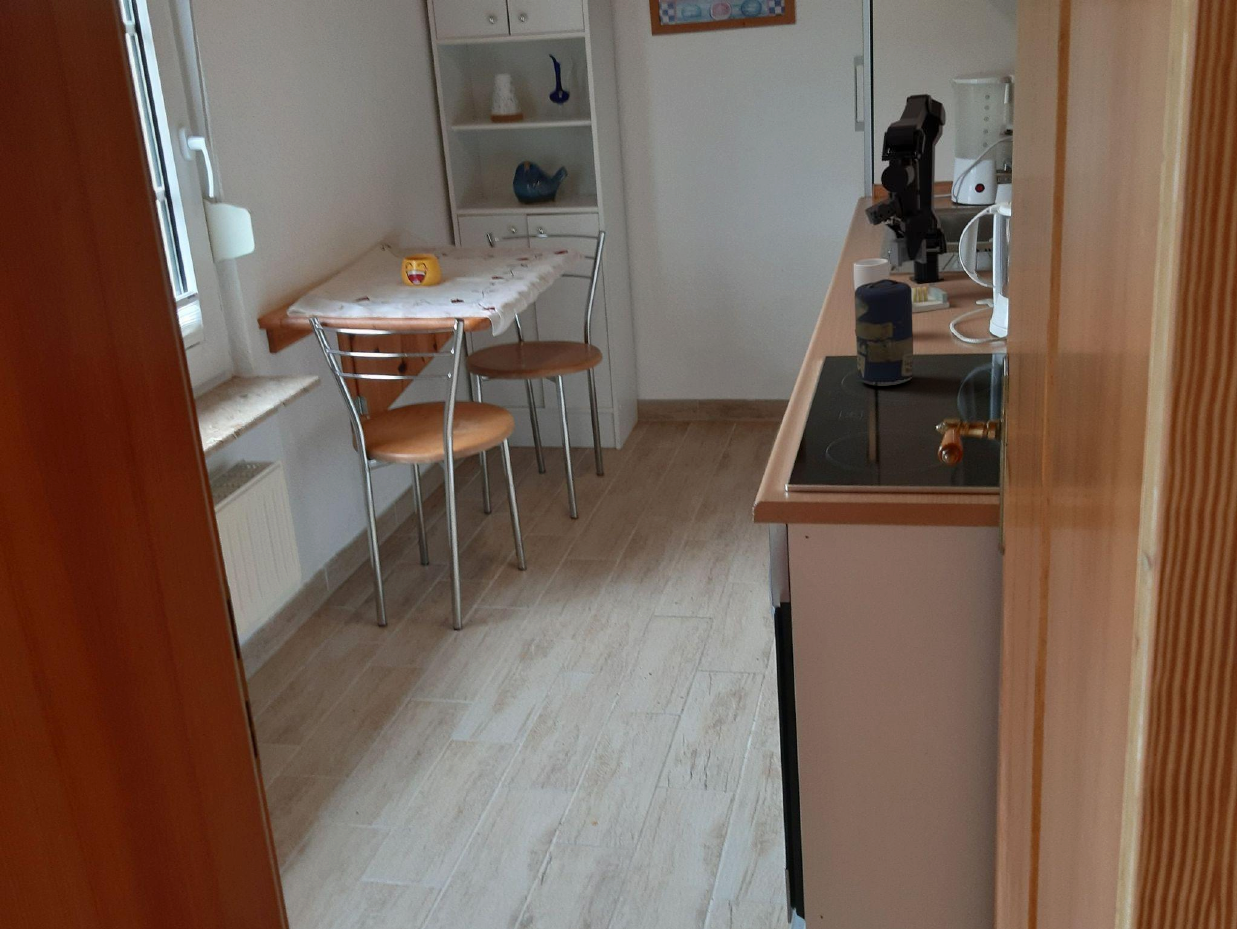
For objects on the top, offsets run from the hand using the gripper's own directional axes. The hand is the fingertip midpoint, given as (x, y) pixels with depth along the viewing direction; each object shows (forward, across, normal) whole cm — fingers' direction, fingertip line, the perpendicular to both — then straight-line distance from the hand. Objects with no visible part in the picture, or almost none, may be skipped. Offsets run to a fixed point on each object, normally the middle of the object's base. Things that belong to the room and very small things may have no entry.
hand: (907, 258), depth 260 cm
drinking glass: (+9, +28, -16) cm, 34 cm away
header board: (+9, +3, 0) cm, 10 cm away
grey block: (+1, 0, 0) cm, 1 cm away
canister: (+9, +59, -23) cm, 64 cm away
